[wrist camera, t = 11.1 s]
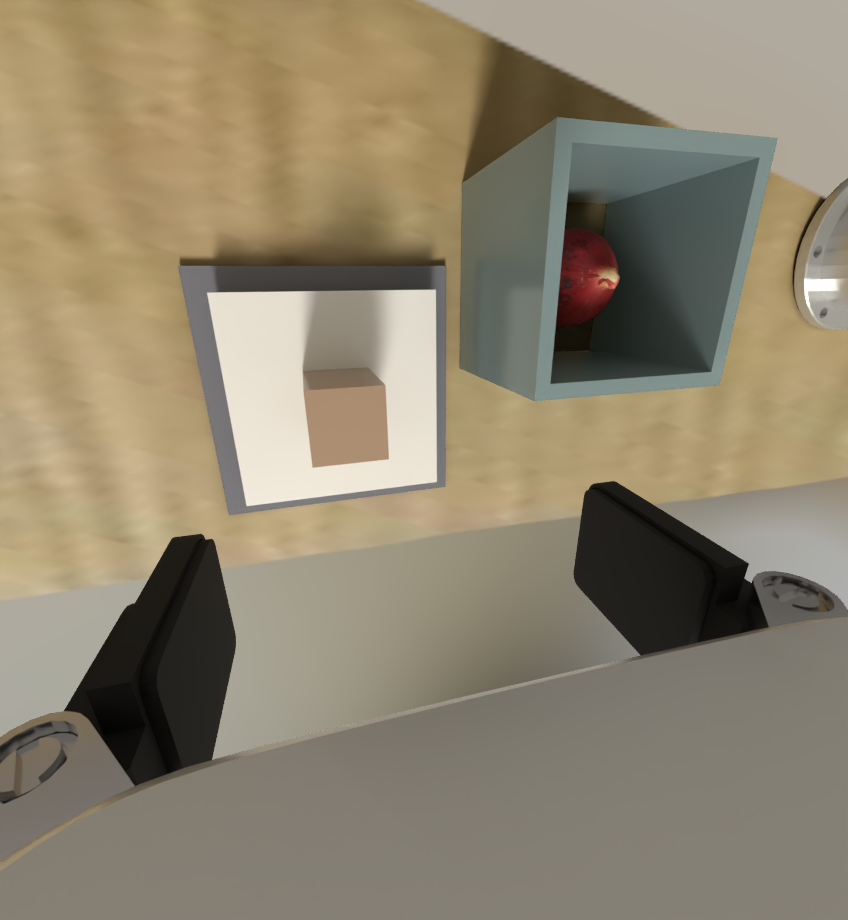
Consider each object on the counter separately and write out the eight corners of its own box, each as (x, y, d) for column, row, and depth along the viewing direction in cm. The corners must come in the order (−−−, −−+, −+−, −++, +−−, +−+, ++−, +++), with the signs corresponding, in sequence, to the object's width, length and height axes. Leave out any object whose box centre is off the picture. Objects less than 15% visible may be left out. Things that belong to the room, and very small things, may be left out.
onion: (499, 326, 31) (560, 335, 24) (500, 237, 29) (568, 217, 22) (569, 321, 32) (648, 327, 25) (575, 235, 30) (664, 216, 23)
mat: (444, 266, 28) (445, 265, 28) (443, 484, 34) (445, 486, 34) (179, 266, 25) (178, 265, 24) (229, 512, 30) (229, 515, 30)
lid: (426, 290, 28) (471, 287, 21) (428, 470, 33) (466, 521, 26) (214, 293, 25) (179, 291, 18) (250, 492, 30) (233, 556, 22)
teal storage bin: (618, 191, 30) (777, 137, 20) (596, 359, 34) (719, 385, 24) (462, 183, 27) (557, 116, 17) (459, 368, 31) (534, 400, 21)
